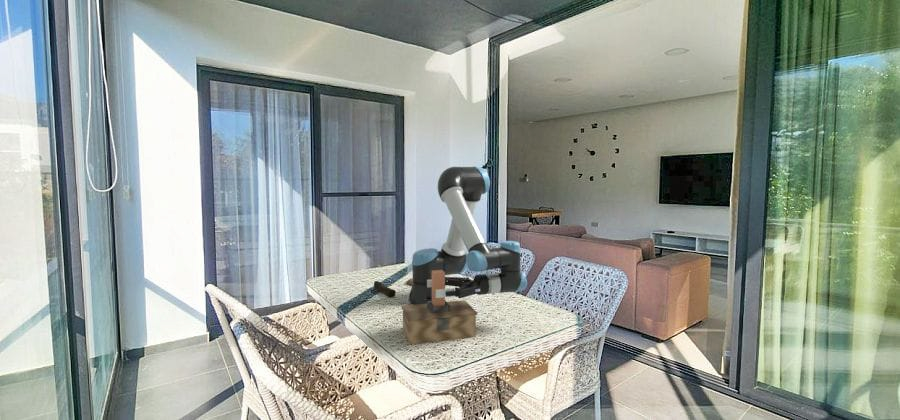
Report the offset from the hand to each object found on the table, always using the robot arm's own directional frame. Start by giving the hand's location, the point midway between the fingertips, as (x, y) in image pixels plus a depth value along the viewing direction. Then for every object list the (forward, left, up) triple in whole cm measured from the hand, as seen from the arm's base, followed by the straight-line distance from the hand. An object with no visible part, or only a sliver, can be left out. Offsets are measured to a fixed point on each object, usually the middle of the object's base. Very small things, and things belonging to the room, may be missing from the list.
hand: (431, 288), depth 147 cm
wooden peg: (+2, +2, -8) cm, 8 cm away
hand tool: (-48, +32, -18) cm, 60 cm away
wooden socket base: (+2, +2, -17) cm, 17 cm away
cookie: (-43, +54, -18) cm, 71 cm away
